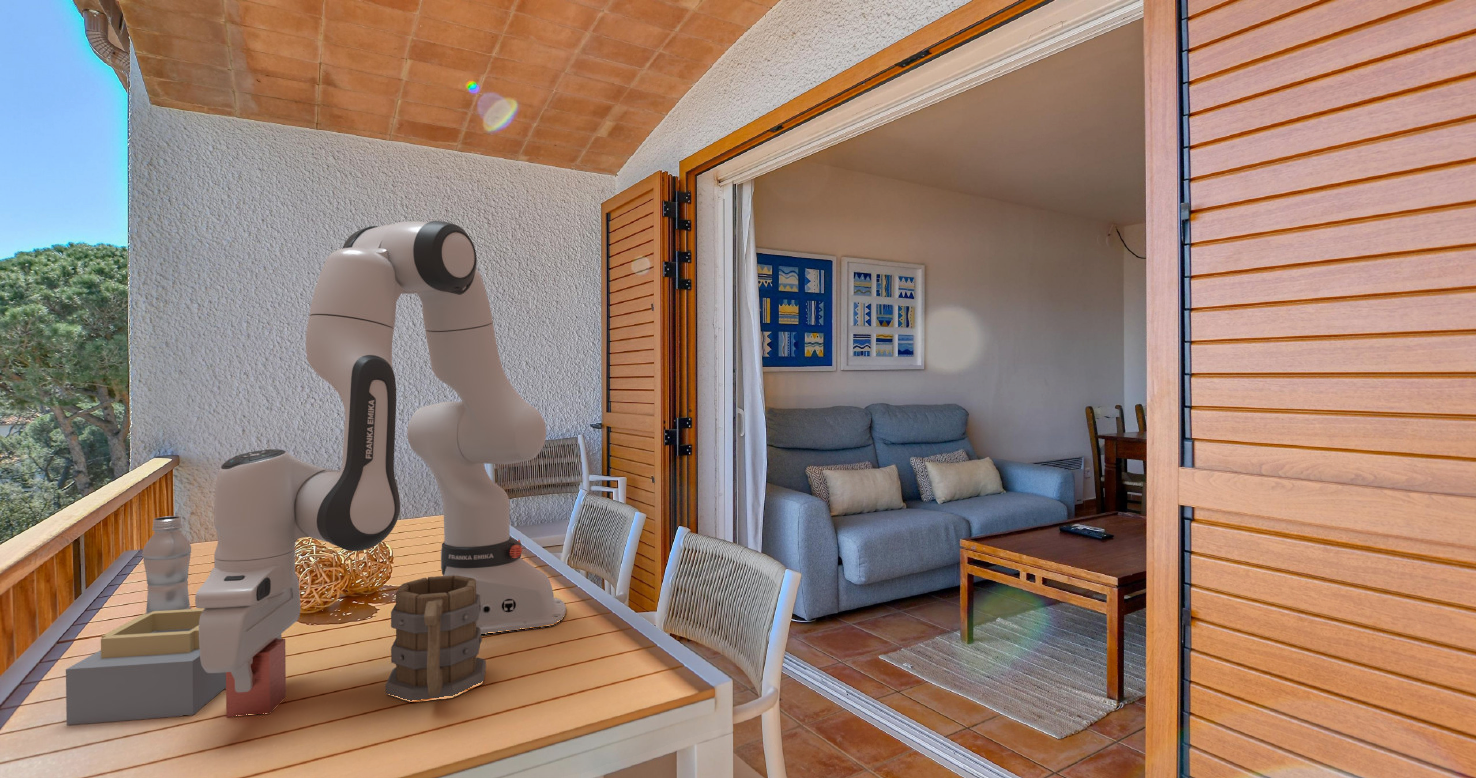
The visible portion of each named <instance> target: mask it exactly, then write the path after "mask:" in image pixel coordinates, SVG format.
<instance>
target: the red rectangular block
mask: <svg viewBox="0 0 1476 778" xmlns="http://www.w3.org/2000/svg"><path fill="white" fill-rule="evenodd" d="M286 659H287V658H286V638H282V639H274V640H273V641H272V642H271V643H269V644H268V645H267V646H266V647H264V648H263V649H262V650H261V651H260V652H258V653H257V654H256V655H255V656H253V663H252V664H251V670H252V674H253V673H256V679H255V681H256V684H255V686H254V687H253V688H252V689H251V690H250V691H248V692H239V693H238V692H236V691H235V679H234V677H233V676H232V674H231V672H226V688H225V697H226V698H225V707H226V708H225V711H226V714H225V715H226V717H227V718H233V717H232V716H236V715H237V716H238V715H246V714H247V715H248V714H263V713H264V715H266V714H265V713H270V712H271V711H272V710H273V709H274V708H275V707H276V706H277V705H278V704H279V703H280V702H281V701H282V700H283V699H284V698H285V697H287V686H286V685H287V679H286V678H287V677H286V675H287V673H286V672H287V671H286V670H287V669H286V668H287V667H286ZM285 699H286V698H285ZM285 699H284V700H285ZM284 700H283V701H284ZM283 701H282V702H283ZM282 702H281V703H282ZM281 703H280V704H281ZM280 704H279V705H280ZM279 705H278V706H279ZM278 706H277V707H278ZM277 707H276V708H277ZM276 708H275V709H276ZM275 709H274V710H275ZM274 710H273V711H274ZM273 711H272V712H273ZM272 712H271V713H272ZM271 713H270V714H271Z"/></svg>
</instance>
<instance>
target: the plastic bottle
mask: <svg viewBox="0 0 1476 778" xmlns="http://www.w3.org/2000/svg"><path fill="white" fill-rule="evenodd" d="M182 527H183V526H182V518H181V516H179V515H174V516H173V515H168V516H162V517H161V516H160V517H155V518H153V521H152V528H151V530H152V532H154V533H153V535H151V537H150V538H149V539H148V540H147V542H146V544H145V545H144V546H143V550H142V552H141V554H142V559H143V565H144V569H145V575H146V585H147V587H146V588H147V596H146V609H145V611H146V612H145V613H144V614H149V613H151V612H153V611H167V610H185V609H192V607H191V604H190V596H189V588H188V587H189V586H188V585H189V568H190V561H191V556H192V554H191V553H192V545H191V543H190V540H188V538H187V537H186V536H185V535H184V534H183V533H182V532H181V530H180V529H182Z"/></svg>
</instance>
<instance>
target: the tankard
mask: <svg viewBox="0 0 1476 778" xmlns="http://www.w3.org/2000/svg"><path fill="white" fill-rule="evenodd" d="M481 609H482V606H481V603H480V595H479V594H476V580H475V579H473V578H468V577H463V576H458V575H456V576H455V575H450V576H443V575H438V576H428V577H422V578H419V579H416V580H412V581H408V582H404V583H402V584H401V585H400V586H399V588H398V590H397V591H396V592H395V605H394V606H393V608H392V609H391V611H390V627H391V628H392V629H394V630H395V640H394V641H393V642H392V646H391V648H390V656H391V658H390V659H391V661H390V662H391V664H394V665H395V667H394V668H393V669H392V670H391V673H390V674H389V676H388V679H387V681H386V683H385V694H386V693H387V694H390V695H394V696H398V697H400V698H403V699H407V700H410V701H412V700H421V699H429V698H439V697H444V696H453V695H455V694H458V693H459V692H462V691H464V690H465V689H468V688H470V687H472V686H473V685H476V684H478V683H481V682H482V681H484V682H485V677H484V675H485V676H486V671H485V669H486V668H487V665H486V664H487V660H485V659H484V658H481V657H478V655H479V653H480V647H481V643H482V642H483V638H482V635H481V628H479V627H476V621H477V620H478V619H479V614H480V610H481ZM486 670H487V669H486ZM387 694H386V695H387Z"/></svg>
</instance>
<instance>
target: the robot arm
mask: <svg viewBox="0 0 1476 778" xmlns="http://www.w3.org/2000/svg"><path fill="white" fill-rule="evenodd" d="M477 259H478V257H477V251H476V248H475V245H474V243H473V240H472V239H471V238H470V236H469V235H468V233H467V232H466V230H465V229H464V228H462V227H461V226H459V225H458V224H455V223H452V222H446V221H443V220H431V221H419V220H416V221H414V220H413V221H412V220H411V221H409V220H408V221H399V222H396V223H391V224H390V223H389V224H384V225H380V226H378V225H377V226H376V225H372V226H371V225H370V226H368V227H364V228H361V229H358V230H357V231H355V232H354V233H352V234H351V235H350V236H349V237H348V238H346V240H345V242H344V243H343V245H342V248H340V249H336V250H335V251H333V252H331V253H330V254H329V255H328V257H327V258H326V259H325V261H324V263H323V266H322V269H321V271H320V274H319V276H318V280H317V282H316V285H315V288H314V290H313V291H314V292H313V295H312V299H311V303H310V310H309V314H308V320H307V326H306V333H305V350H306V351H305V352H306V360H307V362H308V364H309V366H310V367H311V369H313V370H314V372H315V373H316V374H317V375H318V376H319V377H321V379H322V380H324V381H326V382H327V383H328V384H330V386H331V387H332V388H333V389H334V390H335V391H336V392H337V394H338V396H339V397H340V399H341V401H342V404H343V408H344V428H343V443H342V444H343V446H342V463H341V467H340V469H339V470H335V469H330V468H326V467H321V466H318V465H314V464H311V463H309V462H305V461H304V460H301V459H298V458H296V457H295V456H294V455H291V454H289V452H288V451H286V450H284V449H279V448H278V449H277V448H275V449H273V448H269V449H264V450H263V449H262V450H253V451H249V452H244V453H241V454H237V455H235V456H232V457H231V458H229V459H228V460H226V461H225V462H224V463H222V465H221V466H220V468H219V471H218V473H217V478H216V482H215V490H214V499H213V500H214V502H213V503H214V504H213V505H214V506H213V524H214V528H215V530H216V533H217V545H216V547H215V549H214V555H213V556H214V559H213V560H214V567H213V568H212V569H211V571H210V573H209V575H208V576H207V579H206V580H205V581H204V582H203V584H202V585H201V586H200V587H199V588H198V590H197V591H196V593H195V596H194V603H195V609H204V608H205V609H204V610H203V611H202V613H201V615H200V619H199V649H200V660H201V665H202V667H203V669H204V670H205V671H206V672H207V673H222V672H231V674H232V676H233V677H234V679H235V691H236V692H238V693H239V692H248V691H250V690H251V689H252V688H253V687H254V686H255V684H256V681H255V679H256V673H253V674H252V670H251V664H252V663H253V656H255V655H256V654H257V653H258V652H260V651H261V650H262V649H263V648H264V647H266V646H267V645H268V644H269V643H271V642H272V641H273V640H274V639H283V638H282V636H283V635H282V634H283V633H284V632H286V630H288V629H289V628H290V627H291V626H292V625H294V624H295V623H296V622H298V621H299V618H300V615H301V608H302V607H301V594H300V593H301V592H300V583H299V578H298V575H297V573H296V542H297V541H298V540H299V539H302V538H309V537H310V538H311V539H314V540H319V541H322V542H326V543H330V544H331V545H333V546H335V547H338V548H341V549H343V550H346V551H349V552H360V551H365V550H366V551H367V550H369V549H371V548H373V547H375V546H377V545H379V544H380V543H381V542H382V541H383V542H384V540H385V539H386V538H387V537H388V536H389V535H390V534H391V532H392V531H393V529H395V526H396V524H397V523H398V520H399V516H400V512H401V499H400V492H399V489H398V484H397V481H396V476H395V444H396V421H397V420H396V418H397V383H396V377H395V372H394V369H393V360H392V359H393V358H392V354H393V353H392V352H393V351H392V349H393V341H394V339H393V338H394V332H395V331H394V330H395V323H396V314H397V313H396V312H397V302H398V300H399V298H400V296H401V294H406V295H407V294H408V295H409V294H412V295H413V294H416V295H417V297H419V300H420V302H421V304H422V305H421V306H422V316H423V325H424V332H425V338H426V342H427V348H428V349H427V350H428V354H429V358H430V364H431V370H432V372H433V374H434V375H435V377H436V378H437V379H438V380H439V381H441V382H442V383H443V384H445V385H447V386H448V387H450V388H451V390H453V391H454V392H455V393H456V395H457V396H458V397H459V399H460V400H461V401H442V402H441V401H440V402H438V403H437V402H436V403H432V404H429V405H424V406H421V407H419V408H418V409H417V410H415V412H414V413H413V414H412V416H411V417H410V419H409V423H408V426H407V431H406V433H407V439H408V440H407V441H408V444H409V446H410V447H411V450H412V451H413V452H414V454H416V455H417V456H418V457H420V459H421V460H422V461H424V462H425V464H426V465H427V466H428V468H429V469H430V471H431V473H432V475H433V477H434V479H435V481H436V483H437V486H438V489H439V492H440V495H441V501H442V508H443V509H442V512H443V529H444V530H443V536H444V537H443V538H444V541H443V542H442V543H441V549H440V568H441V574H442V576H450V575H455V576H456V575H458V576H463V577H468V578H473V579H475V580H476V594H479V595H480V603H481V606H482V609H481V610H480V614H479V619H478V620H477V621H476V627H479V628H481V634H485V633H488V632H498V631H506V630H516V629H520V628H521V629H522V628H530V627H539V626H543V625H549V624H554V623H556V622H557V621H559V620H561V619H562V618H563V616H564V615H565V612H566V613H567V610H566V603H565V602H564V601H563V600H562V599H559V598H556V597H555V596H554V591H553V586H552V583H551V580H550V579H549V577H548V575H546V574H545V572H542V570H539V569H538V568H536V567H535V566H533V565H532V564H530V563H529V562H528V561H526V560H525V559H523V558H522V553H523V548H522V543H521V540H520V539H518V540H517V539H515V538H513V537H511V536H510V524H511V523H510V499H509V495H508V493H507V492H506V491H505V490H504V489H503V488H502V487H501V486H499V485H498V484H497V483H495V482H494V481H493V480H492V479H491V478H490V476H489V474H488V472H487V470H486V468H485V467H486V466H485V464H486V465H487V464H490V465H511V464H517V463H521V462H527V461H528V462H529V461H531V460H534V459H535V458H537V456H538V455H539V454H540V453H541V451H542V449H543V447H544V445H545V443H546V437H547V428H546V427H547V426H546V423H545V420H544V418H543V416H542V415H541V413H540V412H539V411H538V409H537V408H535V406H534V407H533V406H532V405H531V404H530V403H528V402H527V401H525V400H524V398H522V396H520V394H519V393H518V391H516V390H515V388H514V386H513V385H512V384H511V382H510V380H509V379H508V376H507V375H506V373H505V371H504V369H503V366H502V363H501V359H500V355H499V354H500V353H499V351H498V350H499V349H498V344H497V339H496V333H495V327H494V322H493V316H492V315H493V314H492V311H491V305H490V301H489V297H488V294H487V291H486V288H485V284H484V281H483V279H482V276H481V274H480V272H479V270H478V269H477V265H478V262H477V261H478V260H477ZM565 616H566V615H565ZM485 635H486V634H485Z"/></svg>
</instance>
